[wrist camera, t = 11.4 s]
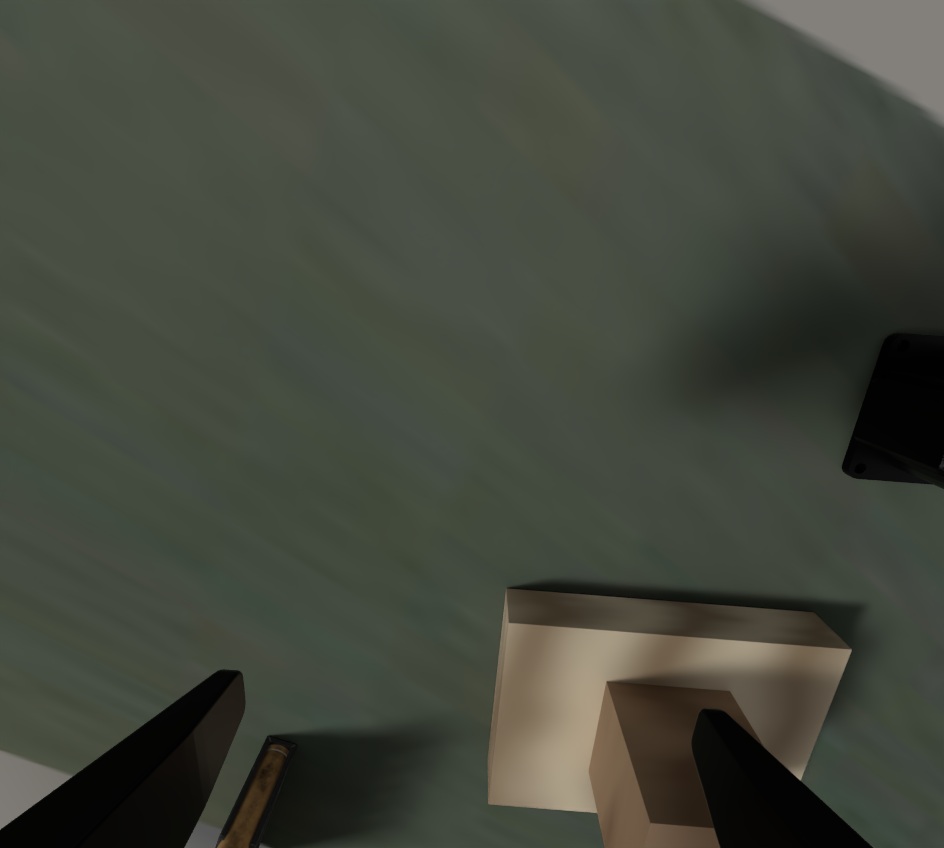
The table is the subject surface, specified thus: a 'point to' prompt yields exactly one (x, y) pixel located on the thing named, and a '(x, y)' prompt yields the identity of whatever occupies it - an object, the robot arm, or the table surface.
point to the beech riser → (644, 681)
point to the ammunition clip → (257, 796)
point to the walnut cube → (653, 766)
